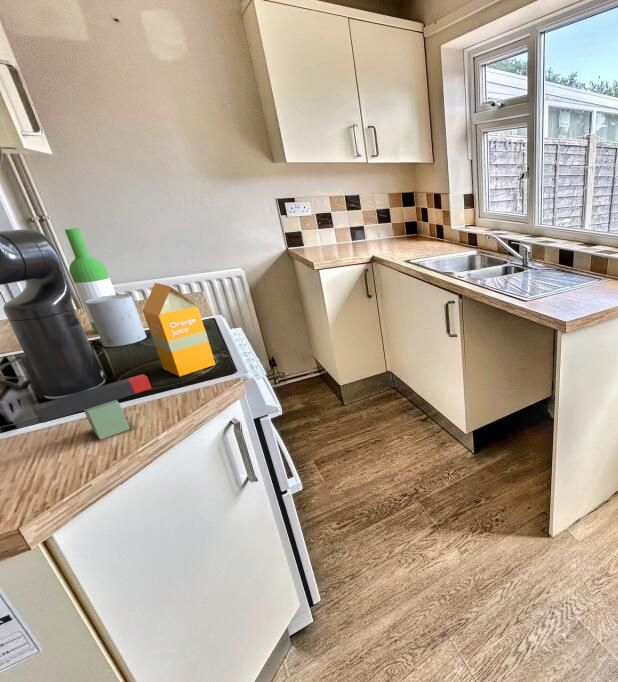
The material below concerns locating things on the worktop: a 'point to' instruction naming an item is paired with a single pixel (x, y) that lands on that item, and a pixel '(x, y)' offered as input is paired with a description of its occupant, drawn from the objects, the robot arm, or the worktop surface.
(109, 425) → the block
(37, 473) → the worktop surface
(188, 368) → the orange juice
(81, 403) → the marker
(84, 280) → the wine bottle
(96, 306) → the grey speckled cylinder
